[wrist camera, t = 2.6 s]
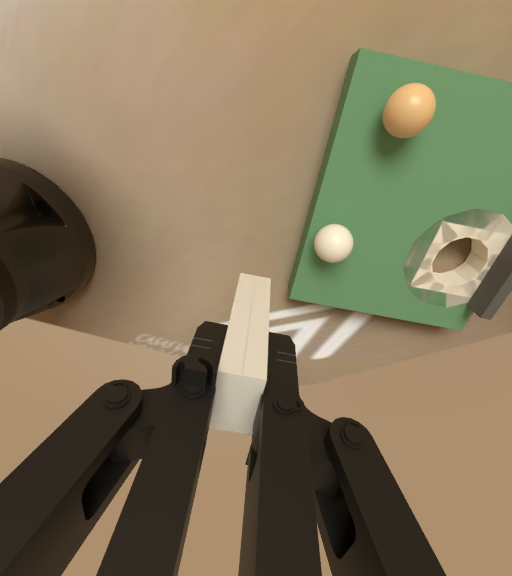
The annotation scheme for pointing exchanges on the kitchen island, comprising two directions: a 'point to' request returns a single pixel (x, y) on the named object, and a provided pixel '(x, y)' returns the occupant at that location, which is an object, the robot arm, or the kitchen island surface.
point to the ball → (333, 243)
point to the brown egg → (409, 110)
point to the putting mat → (414, 198)
